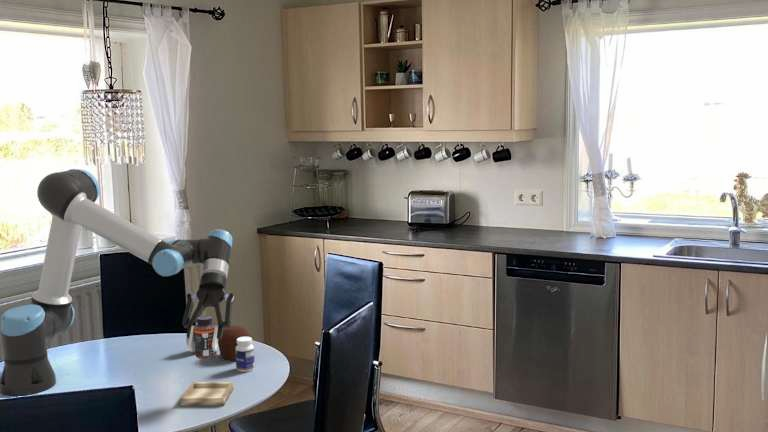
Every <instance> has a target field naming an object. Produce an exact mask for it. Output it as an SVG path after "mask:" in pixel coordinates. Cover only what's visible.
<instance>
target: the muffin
mask: <svg viewBox="0 0 768 432" xmlns="http://www.w3.org/2000/svg"><path fill="white" fill-rule="evenodd" d="M239 337H251V338H252V334H251V333H250V332H249V331H248V330H247V329H246V328H244V327H242V326H241V325H231V326H230V327H229V328H227V327H226V328H224V329H223V335H222V339H218V345H217V347H218V349H219V353H220V359H222V360H223V359H224V360H225V362H236V351H235V348H236V346H237V345H238V344H237V338H239ZM224 360H223V361H224Z"/></svg>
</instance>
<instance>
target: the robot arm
mask: <svg viewBox="0 0 768 432" xmlns="http://www.w3.org/2000/svg"><path fill="white" fill-rule="evenodd" d="M100 190H101V189H100V184H99V181H98V179H96V177H95V175H93V174H92V173H91V172H89V171H87V170H85V169H79V168H78V169H77V168H71V169H68V170H65V171H57V172H52V173H50V174H47V175H46V176H44V177H43V178H42V179H41V181H40V182H39V184H38V186H37V189H36V192H37V193H36V195H37V199H38V201H39V203H40V205H41V206H42V207H43V208H44V209H45V210H46V211H47V212H48V213H50V215H51V216H52V217H51V218H52V219H51V222H50V228H49V233H48V239H47V244H46V248H45V255H44V260H43V264H42V271H41V276H40V280H39V285H38V289H37V290H36V291H34V292H33V293H32V294H31V300H30V304H23V305H19V306H17V307H16V306H14V307H12V308H9V309H8V310H6V311H5V312H3V314H2V315H1V318H0V332H1V341H2V353H3V361H4V362H3V368H2V372H1V375H0V376H1V377H0V393H1V394H3V395H7V396H24V395H23V394H27V395H31V394H32V395H33V394H36V393H41V392H44V391H46V390H49V389H51V388H52V387H53V386H55V385H56V383H57V377H56V373H55V371H54V369H53V367H52V365H51V362H50V360H49V357H48V346H47V345H48V344H47V343H48V342H49V341H51V340H53V339H55V338H57V337H59V336H60V335H63V334H64V333H65V332H66V331H68V329H69V328H71V326H72V324H73V323H74V320H75V315H76V314H75V313H76V312H75V308H74V306H73V304H72V303H73V297H72V296H71V294H69V291H70V286H71V281H72V276H73V272H74V266H75V260H76V256H77V251H78V247H79V246H78V245H79V240H80V236H81V231H82V228H85V229H86V230H88V231H90V232H92V233H93V234H95V235H97V236H98V237H101V238H103V239H104V240H106V241H108V242H109V243H111V244H114V245H115V246H117V247H119V248H121V249H123V250H124V251H126V252H128V253H130V254H132V255H133V256H134V257H138V258H139V259H141V260H143V261H145V262H147V264H150V265H152V268H153V269H154V271H155V272H156V274H158V275H159V276H161V277H171V276H173V275H176V274H178V273H180V271H181V270H183V269H185V268H187V267H188V266H190V265H196V264H198V265H199V264H202V269H201V276H200V281H199V286H198V289H197V291H196V293H193V294H191V293H187V294H186V300H187V301H186V305H185V310H184V313H183V316H182V321H181V323H182V326H183V327H184V329H187V331H186V338H188V339H189V343H188V346H187V348H188V351H189V352H193V347H194V341H195V337H194V327H195V326H196V324H197V318H198V317H200V316H202V314H203V312H204V311H205V310H206V308H208V307H212V308H214V310H215V316H216V321H217V325H215V330H214V336H213V342H212V348H213V351H217V349H218V339H222V335H223V330H224V329H225V328H229V327H230V326H232V325H231V324H232V313H233V312H232V311H233V305H234V302H235V296H234V293H232V292H231V293H226V287H227V281H228V280H227V279H228V275H229V269H230V268H229V267H230V261H231V254H232V251H233V250H232V249H233V236H232V235H231V234H230V232H228V231H227V230H225V229H219V228H217V229H213V230H211V231H210V232H209V233H208V235H207V237H206V238H195V239H194V238H191V239H174V240H169V241H167V242H166V241H165V240H162V239H161V238H159V237H158V236H156V235H154V234H152V233H150V232H149V231H146V230H145V229H143V228H141V227H139V226H137V225H136V224H134V223H132V222H130V221H128V220H126V219H125V218H123V217H121V216H119V215H118V214H115V213H114V212H112V211H110V210H109V209H107V208H105V207H103V206H101V205H99V204H98V203H96V201H97V200H98V198H99V196H100V193H101V192H100ZM197 299H198V302H197V306H196V307H195V310H194V312H193V309H194V303H196V300H197ZM224 300H225V301H226V302H225V314H224V320H223V315H222V309H221V305H220V303H222V302H223V301H224ZM217 352H218V351H217Z"/></svg>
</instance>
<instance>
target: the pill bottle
mask: <svg viewBox="0 0 768 432" xmlns="http://www.w3.org/2000/svg"><path fill="white" fill-rule="evenodd" d="M252 343H253V338H252V336H251V337H239V338H237V344H238V345H237V346H236V348H235V351H236V361H235V369H236V371H237V372H241V373H247V372H251V371H253V370H254V369H255V365H256V364H255V363H256V362H255V347H254V345H253V344H252Z"/></svg>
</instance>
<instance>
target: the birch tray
mask: <svg viewBox="0 0 768 432" xmlns="http://www.w3.org/2000/svg"><path fill="white" fill-rule="evenodd" d="M233 391H234V382H231V381H228V382H227V381H225V382H220V381H218V382H217V381H216V382H213V381H211V382H209V381H208V382H205V381H203V382H202V381H201V382H197V381H196V382H191V383H190V385H189V386H188V387H187V389H185V391H184V393H183V394H182V395H181V397H179V398H180V400H179V401H180V407H203V406H204V407H209V406H210V407H214V406H215V407H224V406H225V405H226V403H227V401H228V400H229V398H230V396H231V394H232V393H233Z"/></svg>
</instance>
